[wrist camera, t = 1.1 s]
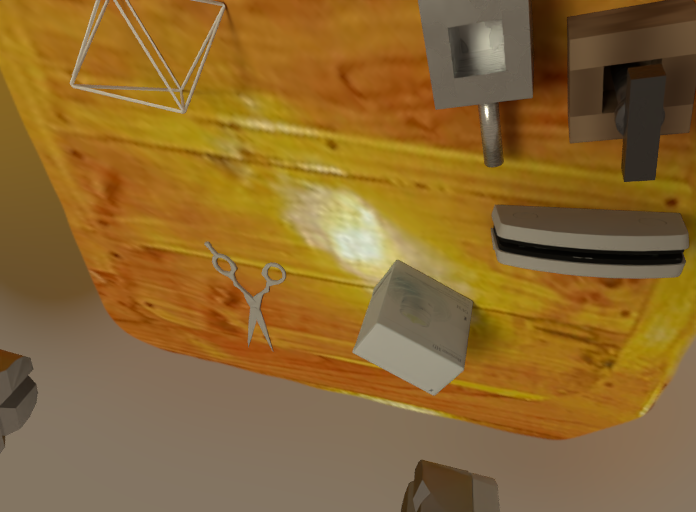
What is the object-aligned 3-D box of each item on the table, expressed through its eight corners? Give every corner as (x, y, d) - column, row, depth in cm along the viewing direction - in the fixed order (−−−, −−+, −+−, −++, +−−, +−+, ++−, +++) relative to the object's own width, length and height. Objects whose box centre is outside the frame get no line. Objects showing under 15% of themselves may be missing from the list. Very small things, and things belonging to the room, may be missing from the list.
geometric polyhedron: (193, -62, 44) (131, -36, 38) (256, 63, 50) (211, 105, 44) (93, -8, 50) (24, 23, 43) (160, 99, 56) (107, 140, 49)
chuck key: (649, 14, 38) (676, 74, 30) (641, 106, 42) (664, 179, 35) (606, 21, 39) (621, 81, 31) (602, 110, 43) (615, 182, 36)
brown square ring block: (690, -4, 38) (705, 18, 34) (676, 102, 42) (689, 132, 39) (567, 16, 41) (569, 39, 37) (567, 114, 45) (569, 143, 42)
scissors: (283, 256, 66) (293, 359, 79) (285, 253, 66) (295, 355, 79) (204, 242, 68) (227, 344, 81) (207, 238, 68) (229, 340, 81)
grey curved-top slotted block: (490, 244, 56) (483, 280, 47) (493, 200, 55) (487, 229, 46) (669, 256, 51) (700, 299, 42) (678, 208, 50) (712, 242, 41)
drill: (410, -193, 35) (387, -188, 30) (632, -266, 30) (650, -276, 25) (457, 146, 50) (448, 187, 45) (612, 131, 45) (621, 175, 40)
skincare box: (475, 299, 62) (466, 371, 54) (446, 327, 66) (433, 398, 59) (397, 256, 61) (376, 323, 53) (372, 288, 65) (350, 354, 58)
